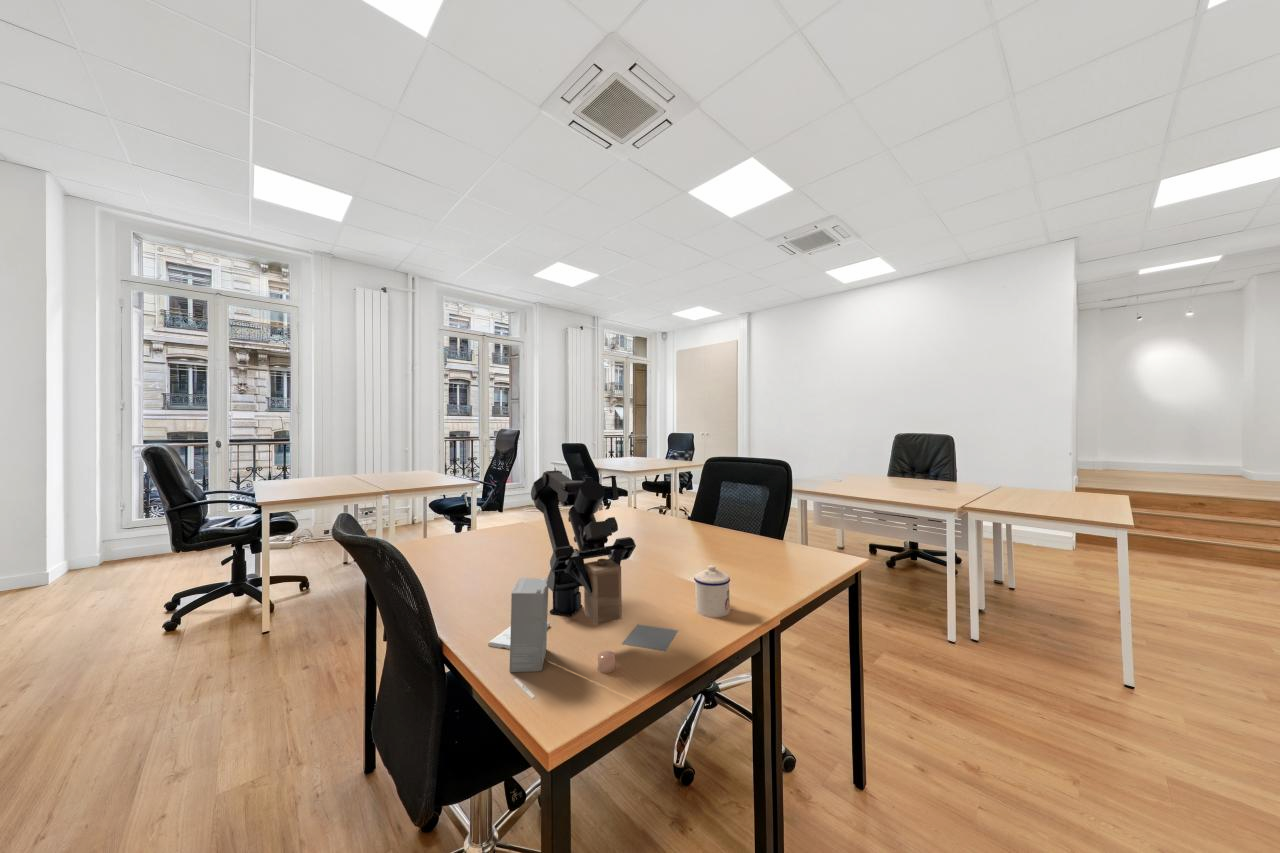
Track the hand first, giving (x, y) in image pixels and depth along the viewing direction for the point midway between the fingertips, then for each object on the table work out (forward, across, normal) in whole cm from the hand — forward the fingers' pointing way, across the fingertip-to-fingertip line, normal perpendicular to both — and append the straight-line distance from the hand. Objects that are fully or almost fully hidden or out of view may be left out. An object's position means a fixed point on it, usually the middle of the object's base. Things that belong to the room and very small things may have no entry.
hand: (605, 589), depth 91 cm
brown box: (+3, 0, +5) cm, 6 cm away
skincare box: (+6, -15, +13) cm, 21 cm away
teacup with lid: (+5, +33, +14) cm, 36 cm away
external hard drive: (-2, -14, +22) cm, 26 cm away
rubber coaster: (+9, +11, +10) cm, 18 cm away
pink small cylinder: (+14, -3, +5) cm, 15 cm away
